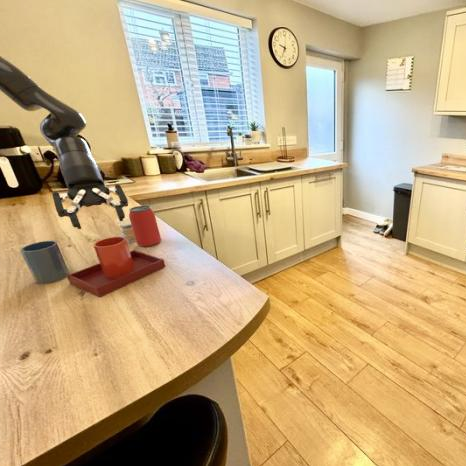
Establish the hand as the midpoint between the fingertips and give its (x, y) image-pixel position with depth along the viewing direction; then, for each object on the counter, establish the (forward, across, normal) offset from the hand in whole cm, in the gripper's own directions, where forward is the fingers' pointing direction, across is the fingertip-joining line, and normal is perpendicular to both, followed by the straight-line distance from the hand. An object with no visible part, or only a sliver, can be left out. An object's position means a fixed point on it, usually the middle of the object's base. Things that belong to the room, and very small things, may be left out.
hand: (101, 223), depth 74 cm
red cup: (+13, 0, -5) cm, 14 cm away
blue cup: (+6, +12, -13) cm, 19 cm away
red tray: (+13, 0, -6) cm, 14 cm away
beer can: (+1, -11, -18) cm, 21 cm away
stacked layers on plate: (-6, -8, -25) cm, 27 cm away
